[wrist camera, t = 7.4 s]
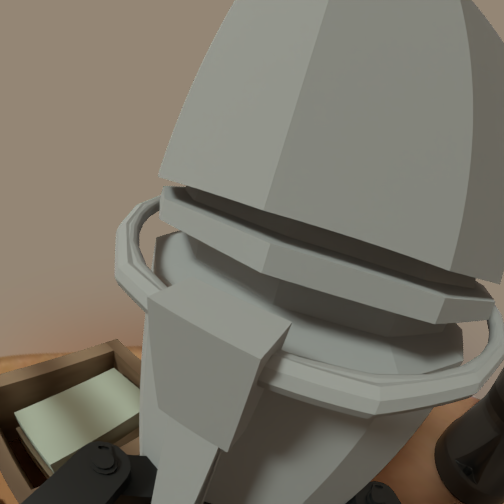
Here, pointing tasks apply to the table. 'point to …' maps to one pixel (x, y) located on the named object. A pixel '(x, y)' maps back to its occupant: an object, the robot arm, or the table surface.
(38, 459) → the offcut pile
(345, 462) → the water bottle
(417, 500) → the table surface
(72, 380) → the walnut divided tray
